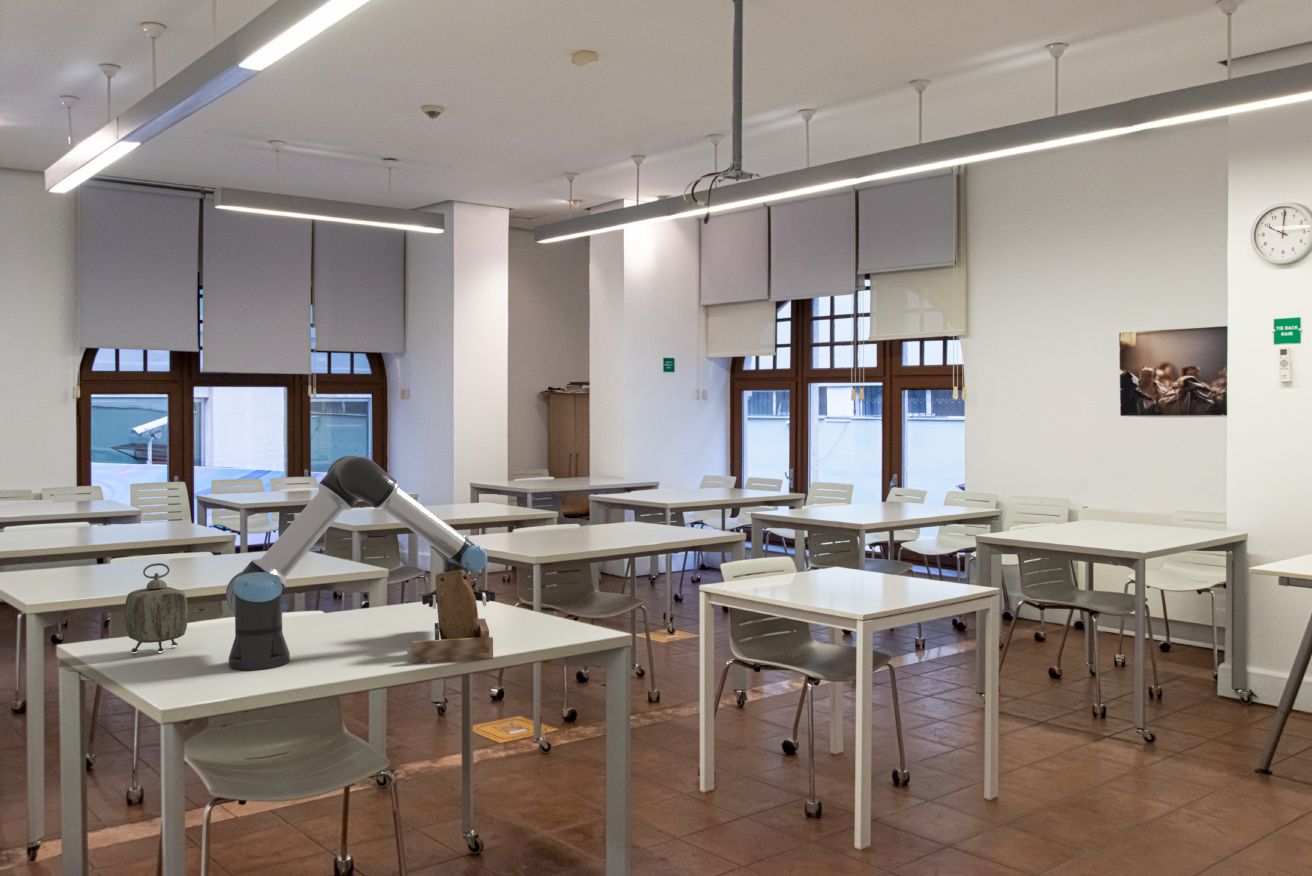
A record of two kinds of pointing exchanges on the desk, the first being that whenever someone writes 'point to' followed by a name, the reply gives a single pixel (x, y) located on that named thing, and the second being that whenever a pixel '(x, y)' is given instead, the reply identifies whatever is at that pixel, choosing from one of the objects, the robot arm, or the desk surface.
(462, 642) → the wooden holder
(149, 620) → the tabletop clock
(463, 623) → the block
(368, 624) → the desk surface
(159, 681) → the desk surface
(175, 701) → the desk surface
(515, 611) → the desk surface
